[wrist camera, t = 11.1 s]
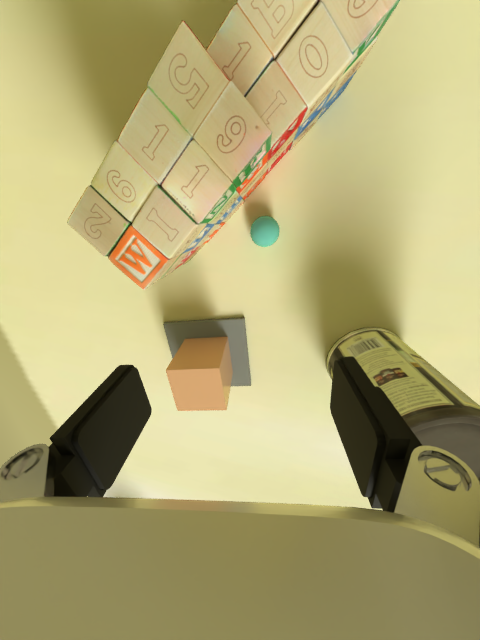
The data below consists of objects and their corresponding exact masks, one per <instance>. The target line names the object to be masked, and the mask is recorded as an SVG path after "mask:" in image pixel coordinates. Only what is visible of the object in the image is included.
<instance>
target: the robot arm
mask: <svg viewBox="0 0 480 640" xmlns="http://www.w3.org/2000/svg"><path fill="white" fill-rule="evenodd" d="M330 409H331V414H332V416H333V419H334V422H335V424H336V427H337V430H338V432H339V435H340V438H341V441H342V443H343V446H344V449H345V451H346V454H347V457H348V459H349V462H350V465H351V467H352V470H353V473H354V475H355V478H356V481H357V483H358V486H359V489H360V491H361V494H362V495H363V496H364V497H368V499H369V502H370V504H371V507H372V508H382V509H383V511H382V510H374V509H365V508H356V507H341V506H324V505H307V504H283V503H258V502H233V501H204V500H175V499H143V498H107V497H103V496H104V494H105V492H106V490H107V489H109V488H110V487H111V486H112V484H113V483H114V481H115V479H116V477H117V475H118V473H119V472H120V470H121V468H122V466H123V464H124V463H125V461H126V459H127V457H128V455H129V454H130V452H131V450H132V448H133V446H134V444H135V443H136V441H137V439H138V437H139V435H140V434H141V432H142V430H143V428H144V426H145V425H146V423H147V421H148V419H149V417H150V415H151V406H150V403H149V400H148V397H147V395H146V392H145V389H144V386H143V383H142V380H141V378H140V375H139V372H138V370H137V368H135V367H134V366H133V365H120V366H118V367H117V368H116V369H115V370H114V371H113V372H112V373H111V374H110V375H109V377H108V378H107V379H106V380H105V381H104V382H103V383H102V384H101V385H100V386H99V387H98V388H97V389H96V390H95V391H94V392H93V393H92V394H91V395H90V396H89V397H88V399H87V400H86V401H85V402H84V403H83V404H82V405H81V406H80V407H79V408H78V409H77V410H76V411H75V412H74V413H73V414H72V415H71V416H70V417H69V418H68V419H67V421H66V422H65V423H64V424H63V425H62V426H61V427H60V428H59V429H58V430H57V431H56V432H55V433H54V434H53V435H52V436H51V437H50V440H51V441H52V444H51V445H50V446H49V447H48V446H47V445H46V444H37V445H33V446H30V447H28V448H26V449H24V450H22V451H20V452H18V453H17V454H15V455H14V456H13V457H11V458H10V459H9V460H8V461H7V462H5V463H4V464H3V465H2V467H1V468H0V640H480V484H479V480H478V478H477V477H476V475H475V473H474V472H473V471H472V470H471V469H470V468H469V467H468V465H467V464H466V463H464V462H463V461H462V460H460V459H459V458H458V457H457V456H455V455H453V454H451V453H449V452H448V451H446V450H443V449H440V448H438V447H433V446H423V445H422V444H421V442H420V441H419V440H418V438H417V437H416V436H415V434H414V433H413V431H412V430H411V429H410V427H409V426H408V425H407V423H406V422H405V420H404V419H403V418H402V416H401V415H400V413H399V412H398V411H397V409H396V408H395V407H394V405H393V404H392V402H391V401H390V400H389V398H388V397H387V396H386V394H385V393H384V391H383V390H382V389H381V388H380V387H378V386H374V385H373V383H372V382H371V380H370V379H369V377H368V376H367V375H366V373H365V372H364V370H363V369H362V367H361V366H360V364H359V363H358V362H357V360H356V359H355V357H353V356H348V357H339V359H338V360H335V361H334V370H333V381H332V392H331V403H330ZM87 496H88V497H87Z"/></svg>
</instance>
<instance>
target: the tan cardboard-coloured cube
mask: <svg viewBox="0 0 480 640" xmlns="http://www.w3.org/2000/svg"><path fill="white" fill-rule="evenodd" d="M166 373H167V376H168V380H169V383H170V386H171V390H172V393H173V397H174V400H175V403H176V407H177V410H178V411H192V410H227V404H228V398H229V393H230V387H231V381H232V375H233V370H232V363H231V356H230V349H229V341H228V337H210V338H191V339H185V340H184V341H183V343H182V345H181V346H180V348H179V350H178V351H177V353H176V354H175V356H174V358H173V359H172V361H171V363H170V364H169V366H168V367H167V369H166Z"/></svg>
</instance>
